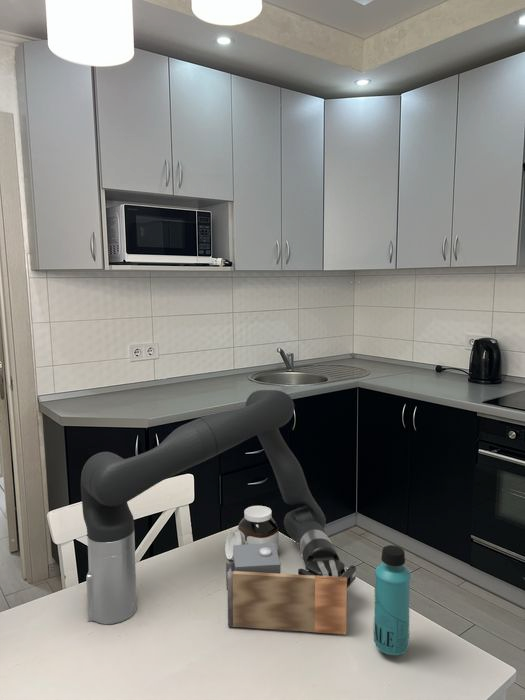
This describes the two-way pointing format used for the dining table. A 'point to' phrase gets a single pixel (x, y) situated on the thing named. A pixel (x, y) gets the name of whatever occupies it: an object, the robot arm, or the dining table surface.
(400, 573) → the beverage bottle
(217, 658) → the dining table surface
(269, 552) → the box
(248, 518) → the spread jar
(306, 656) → the dining table surface
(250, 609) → the door
